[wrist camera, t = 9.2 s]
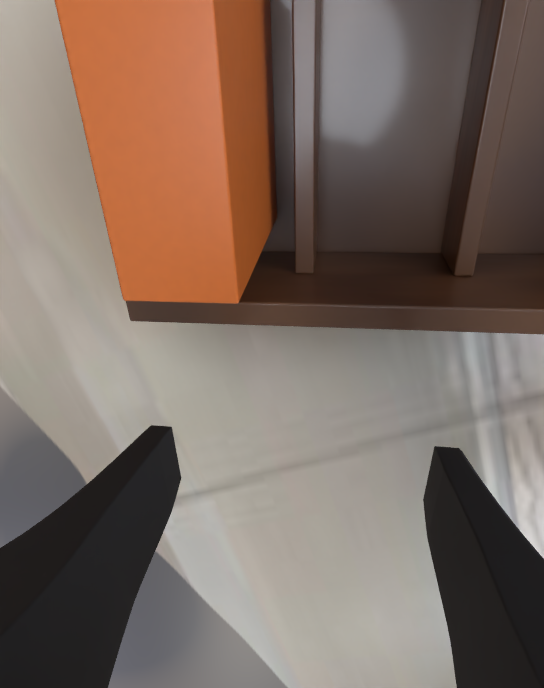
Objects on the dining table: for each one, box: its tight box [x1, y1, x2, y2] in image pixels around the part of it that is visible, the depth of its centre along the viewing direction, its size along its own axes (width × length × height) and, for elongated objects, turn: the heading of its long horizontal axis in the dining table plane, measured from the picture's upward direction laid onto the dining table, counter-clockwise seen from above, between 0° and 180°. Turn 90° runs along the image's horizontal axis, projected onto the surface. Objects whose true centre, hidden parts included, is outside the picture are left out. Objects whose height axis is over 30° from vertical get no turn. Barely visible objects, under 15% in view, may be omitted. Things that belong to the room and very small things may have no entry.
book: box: [55, 0, 277, 304], centre depth 13 cm, size 3×8×8 cm, turn 2°
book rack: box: [126, 0, 544, 334], centre depth 15 cm, size 18×11×6 cm, turn 92°
